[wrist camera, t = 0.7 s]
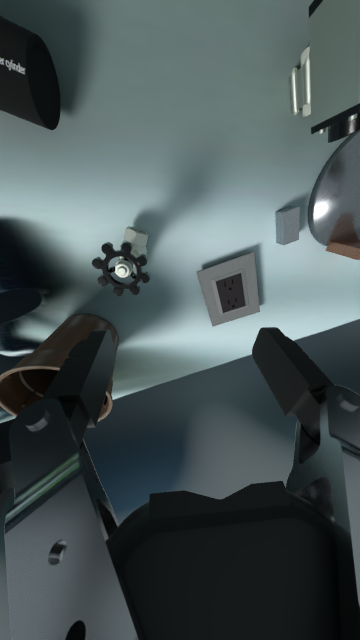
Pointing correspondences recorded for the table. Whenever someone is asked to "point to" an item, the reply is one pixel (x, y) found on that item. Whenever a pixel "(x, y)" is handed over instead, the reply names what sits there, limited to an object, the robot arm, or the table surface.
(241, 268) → the electrical outlet
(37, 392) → the plant pot
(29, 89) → the circuit board with cylinder
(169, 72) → the table surface
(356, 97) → the pneumatic valve
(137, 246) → the valve
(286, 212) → the grey rectangular block
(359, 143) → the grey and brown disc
